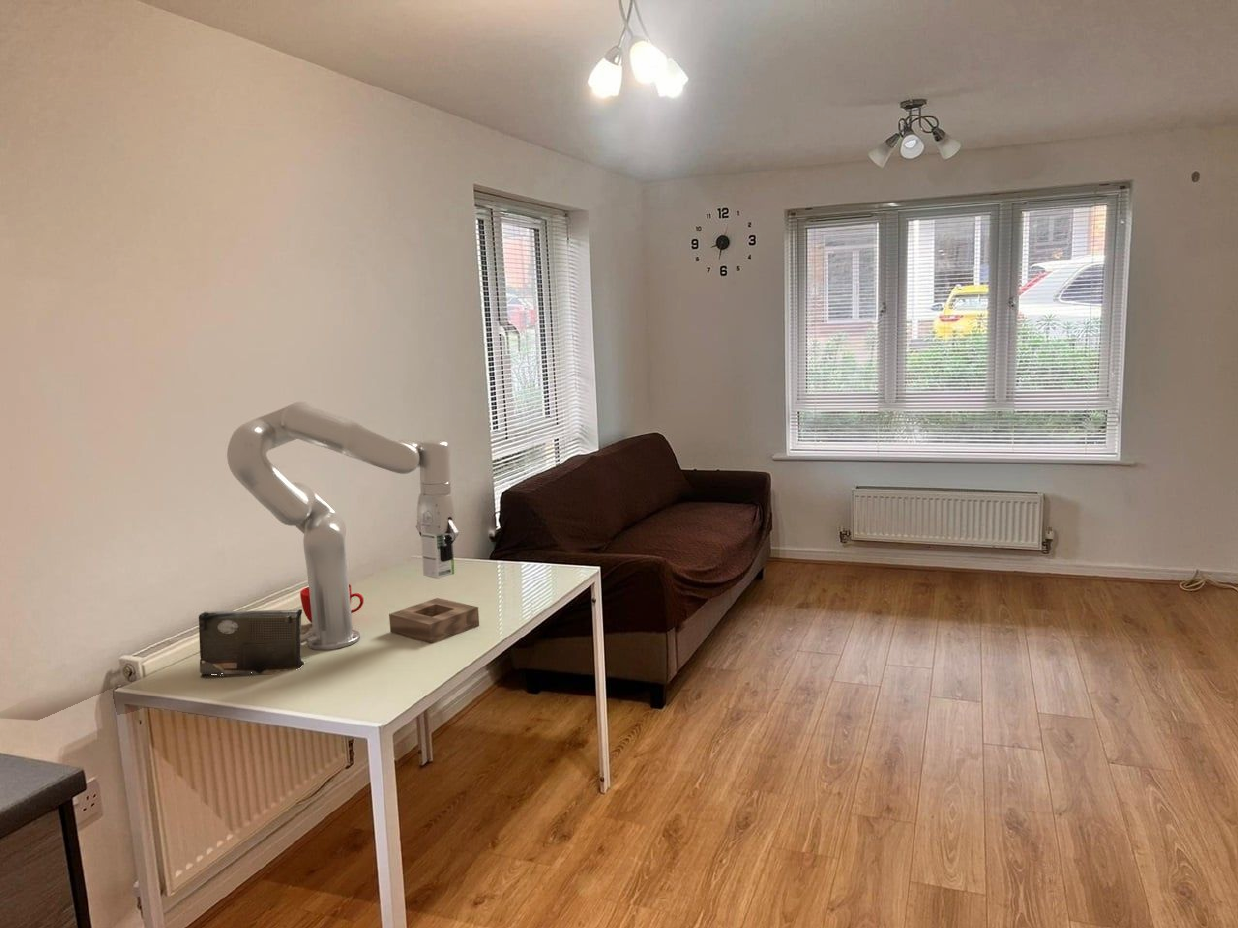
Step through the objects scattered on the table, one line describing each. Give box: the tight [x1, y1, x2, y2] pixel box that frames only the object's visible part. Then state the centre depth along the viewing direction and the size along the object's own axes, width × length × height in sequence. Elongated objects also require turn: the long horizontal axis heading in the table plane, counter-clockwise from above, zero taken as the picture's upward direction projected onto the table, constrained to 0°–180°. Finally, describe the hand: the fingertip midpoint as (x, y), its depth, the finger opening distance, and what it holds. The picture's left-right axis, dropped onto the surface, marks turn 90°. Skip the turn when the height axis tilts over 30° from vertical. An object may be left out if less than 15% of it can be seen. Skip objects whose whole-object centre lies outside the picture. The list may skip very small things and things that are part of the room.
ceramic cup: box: [299, 583, 364, 624], centre depth 232 cm, size 13×17×10 cm
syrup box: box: [420, 522, 455, 580], centre depth 223 cm, size 6×6×14 cm
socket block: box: [388, 597, 480, 645], centre depth 226 cm, size 16×16×5 cm
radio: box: [198, 608, 307, 678], centre depth 201 cm, size 23×9×15 cm, turn 91°
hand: (437, 557), depth 224 cm, fingers closed on syrup box, 5 cm apart
